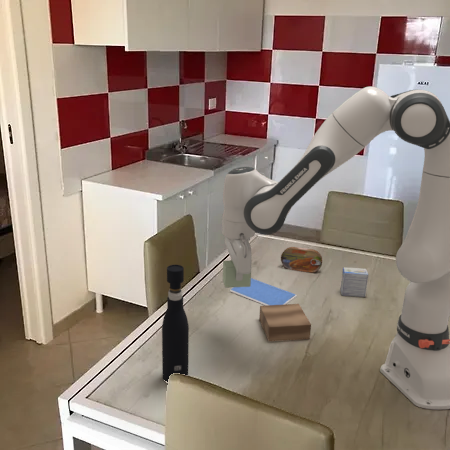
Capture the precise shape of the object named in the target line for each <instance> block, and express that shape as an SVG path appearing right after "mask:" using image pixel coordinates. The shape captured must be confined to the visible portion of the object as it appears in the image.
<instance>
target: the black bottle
mask: <svg viewBox="0 0 450 450" xmlns="http://www.w3.org/2000/svg"><path fill="white" fill-rule="evenodd" d="M184 273H185V271H184V266H182V265H181V264H171V265H168V266H167V267H166V281H167V283H169V290H168V292H167V294H168V295H167V298H166V300H167V305H166V307H167V308H166V310H165V312H164V316H163V320H162V325H161V348H162V349H161V351H162V352H161V355H162V367H161V368H162V370H161V371H162V380H163V381H164V380H165V381H167V382H168V379H169V376H170V375H171V374H173V373H180V374H185V375H188V376H189V344H190V343H189V341H190V340H189V339H190V338H189V332H190V330H189V329H190V327H189V321H188V317H187V314H186V311H185V308H184V297H183V291H182V286H181V284H182V283H184V282H185V281H184V279H185V278H184V277H185V276H184ZM165 381H164V382H165Z"/></svg>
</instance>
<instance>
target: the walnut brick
mask: <svg viewBox="0 0 450 450" xmlns="http://www.w3.org/2000/svg"><path fill="white" fill-rule="evenodd" d="M258 320H259V322H260V324H261V327H262V329H263V332H264V333H265V336H266V339H267V340H268V342H283V341H284V342H285V341H299V340H311V329H312V323H311V322H310V320H309V318H308V317H307V315H306V313H305V312H304V310H303V308H302V306H301V305H300V303H288V304H285V305H266V306H265V305H259V319H258Z"/></svg>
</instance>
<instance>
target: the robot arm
mask: <svg viewBox="0 0 450 450" xmlns="http://www.w3.org/2000/svg"><path fill="white" fill-rule="evenodd" d="M390 131H393V132H394V133H395V134H396V136H397V137H398V138H399V139H400V140H402V141H404V142H406V143H409V144H412V145H414V146H418V147H419V148H420V147H421V148H423V150H424V158H423V159H424V160H423V167H422V172H421V173H422V174H421V181H420V186H419V187H420V188H419V195H418V200H417V204H416V207H415V208H416V209H415V211H414V214H413V217H412V221H411V223H410V225H409V228H408V231H407V233H406V237H405V238H404V240H403V242H402V244H401V245H400V247H399V249H398V250H397V252H396V255H395V266H396V269H397V270H398V273H400V275H401V276H402V277H403V278H405V280H407V281H409V283H408V285H407V286H406V288H405V291H404V297H403V302H402V308H401V314H400V315H399V317H398V320H397V323H396V324H397V325H396V334H395V335H394V338H393V339H392V340H391V343H389V344H390V345H389V348H388V351H387V355H386V357H385V358H386V359H385V362H384V363H383V364H382V365H381V366H380V369H379V371H380V373H381V374H382V375H383V376H384V377H385V378H387V380H389V381H390V382H391V384H393V385H394V386H395V388H396V389H398V390H399V391H400V392H401V393H402V394H403V395H404V397H406V398H408V400H409V401H410V402H411V403H412V404H413V405H414V406H416V407H419V408H423V409H427V410H449V409H450V346H449V345H450V331H449V330H450V329H449V325H448V324H449V320H450V119H449V117H448V114H447V112H446V110H445V108H444V106H443V103H442V101H441V100H440V99H439V98H438V96H437V95H435V94H434V93H433V92H430V91H429V90H425V89H409V90H407V91H404V92H400V93H397V94H396V93H395V94H392V95H389V94H387V93H386V92H385V91H383V90H382V89H381V88H378V87H375V86H366V87H363V88H361V89H360V90H358V91H357V92H356V93H354V94H353V95H351V96H350V97H349V98H347V99H346V100H345V101H344V102H342V103H341V104H340V105H339V106H338V107H337V108H335V110H334V111H333V112H332V113H330V114H329V116H328V117H327V118H326V119H325V120H324V121H323V123H321V125H320V126H319V127H318V129H317V131H316V132H315V134H314V135H313V137H312V139H311V140H310V142H309V143H308V146H307V148H306V150H305V151H304V153H303V154H302V156H301V157H300V159H299V160H298V162H297V163H296V164H295V165H294V166H293V168H291V169H290V171H287V173H286V174H285V175H284V176H283V177H282V178H281V179H280V180H279V181H276V180H274V179H271V178H269V177H266V176H265V175H263V174H261V173H260V172H259V171H258V170H257V169H256V168H255V167H251V166H240V167H236V168H233V169H231V170H229V172H228V173H226V175H225V178H224V182H223V192H222V193H223V194H222V202H223V203H222V204H223V213H222V216H221V217H222V218H221V224H222V225H221V234H222V235H223V236H224V243H225V247H226V250H227V252H228V254H229V256H230V260H232V262H233V264H234V266H235V269H236V273H235V278H236V280H237V281H241V280H242V279H243V274H250V272H251V273H252V264H253V262H252V261H253V260H252V252H253V251H252V246H251V243H250V240H251V238H253V237H255V235H256V233H257V234H259V235H265V236H266V235H269V236H270V235H273V234H275V233H277V232H279V231H280V230H281V228H282V227H283V226H284V223H285V221H286V218H287V216H288V215H289V213H290V211H291V209H292V208H293V206H294V205H296V204H297V202H298V201H300V200H301V198H302V197H303V196H304V195H306V194H307V193H308V191H309V192H310V190H311V189H312V188H313V187H314V186H315V185H316V184H317V183H318V182H319V181H320V180H322V179H323V178H325V177H326V176H328V174H331V172H333V171H335V170H336V169H338V168H339V167H340V166H342V165H344V164H345V163H346V162H348V161H350V160H351V159H352V158H354V157H355V156H356V155H357V154H358V153H360V152H361V151H362V150H363V149H364V148H366V147H367V146H368V145H369V144H370V143H371V141H373V140H374V139H375V138H376V137H378V136H379V135H380V134H383V133H385V132H390Z"/></svg>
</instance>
